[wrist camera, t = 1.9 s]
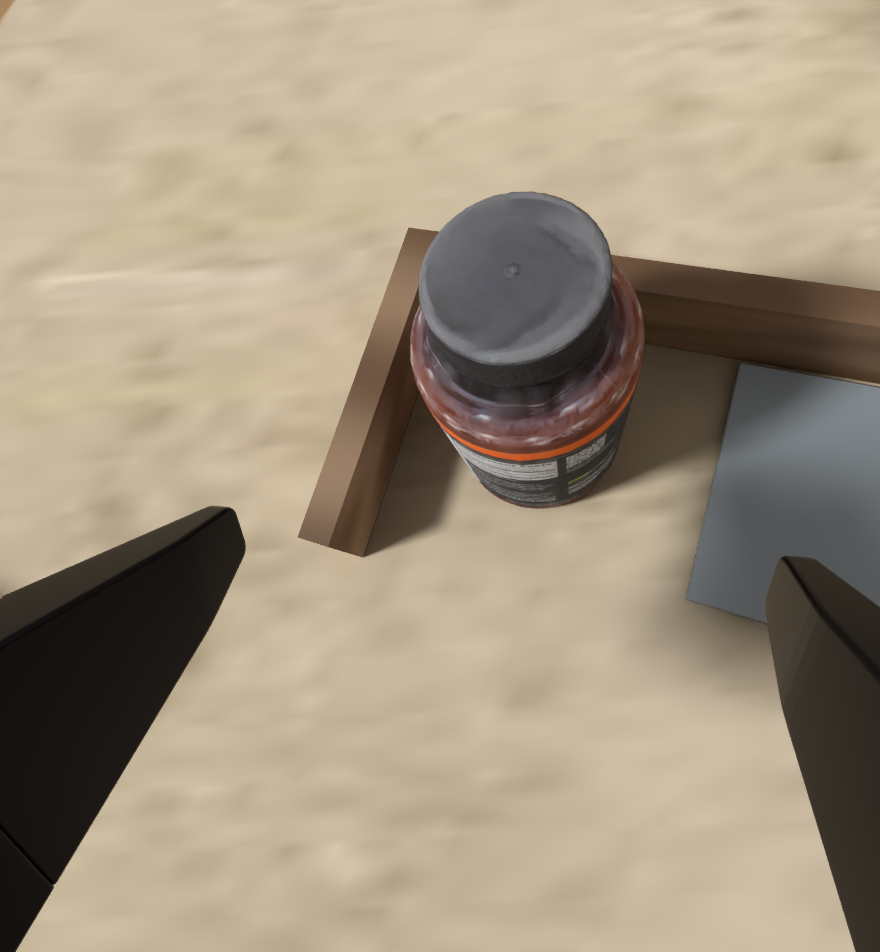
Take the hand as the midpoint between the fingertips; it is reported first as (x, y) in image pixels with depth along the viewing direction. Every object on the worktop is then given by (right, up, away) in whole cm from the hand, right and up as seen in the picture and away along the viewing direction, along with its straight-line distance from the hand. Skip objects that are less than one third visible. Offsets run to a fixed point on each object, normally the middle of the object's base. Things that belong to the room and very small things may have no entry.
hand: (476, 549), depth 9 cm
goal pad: (+14, 0, +10) cm, 17 cm away
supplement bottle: (+3, +3, +13) cm, 14 cm away
